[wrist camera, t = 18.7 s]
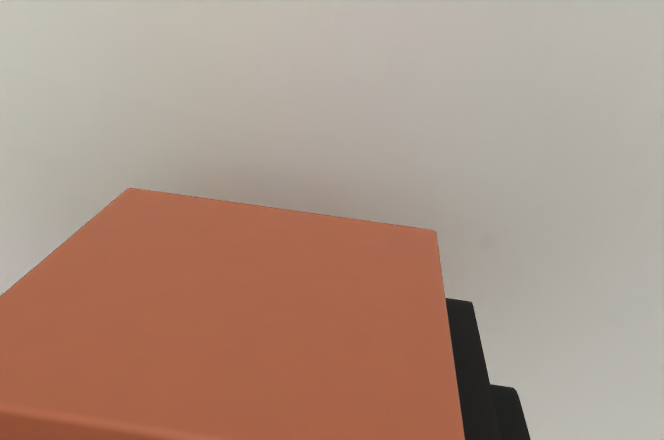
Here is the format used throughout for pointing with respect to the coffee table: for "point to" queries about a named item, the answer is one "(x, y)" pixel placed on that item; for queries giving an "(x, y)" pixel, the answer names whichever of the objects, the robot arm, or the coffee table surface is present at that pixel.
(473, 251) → the coffee table surface
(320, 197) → the coffee table surface
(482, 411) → the robot arm
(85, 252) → the block
